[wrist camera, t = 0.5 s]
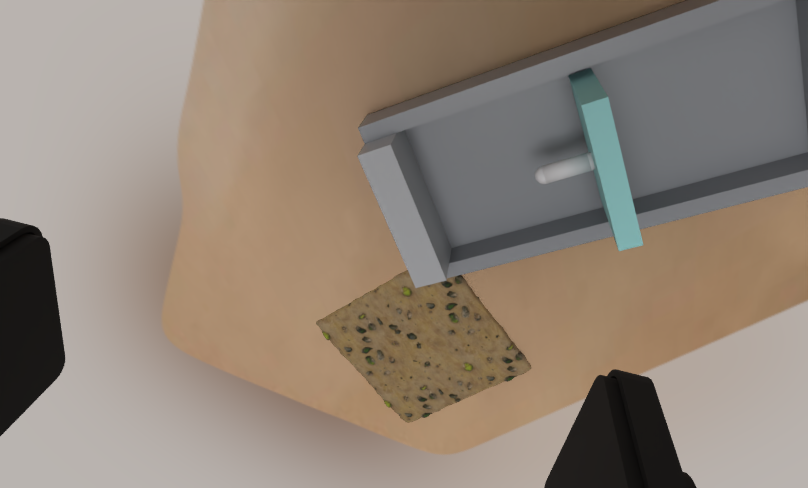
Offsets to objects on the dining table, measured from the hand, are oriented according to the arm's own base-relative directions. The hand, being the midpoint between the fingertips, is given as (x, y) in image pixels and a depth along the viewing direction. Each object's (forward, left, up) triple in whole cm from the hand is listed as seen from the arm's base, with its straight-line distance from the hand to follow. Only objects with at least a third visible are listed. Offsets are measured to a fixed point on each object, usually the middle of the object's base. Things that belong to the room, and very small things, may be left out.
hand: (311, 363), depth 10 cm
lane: (-6, +7, -27) cm, 28 cm away
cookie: (+9, +19, -27) cm, 35 cm away
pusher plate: (-5, +7, -26) cm, 27 cm away
